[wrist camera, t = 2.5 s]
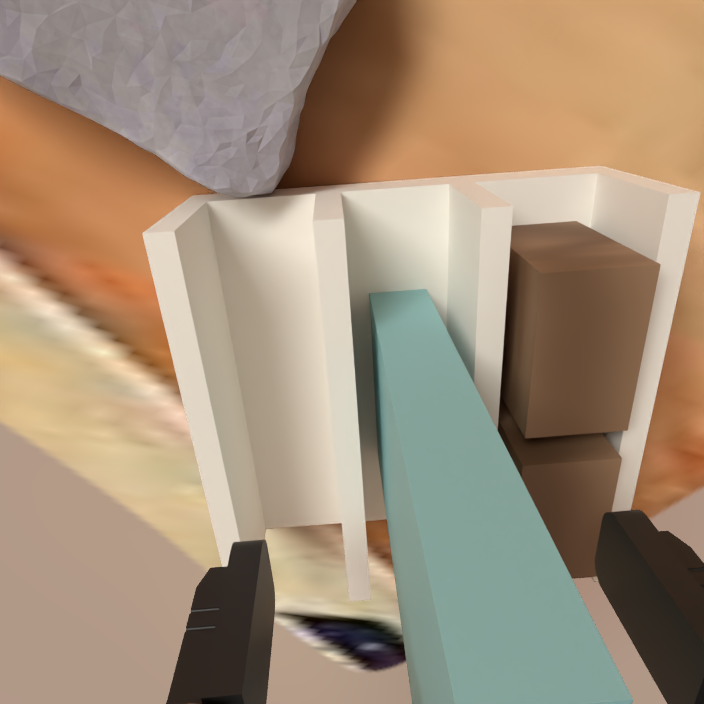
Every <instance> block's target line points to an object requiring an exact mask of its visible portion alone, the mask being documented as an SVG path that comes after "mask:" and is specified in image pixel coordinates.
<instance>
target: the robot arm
mask: <svg viewBox="0 0 704 704" xmlns="http://www.w3.org/2000/svg"><path fill="white" fill-rule="evenodd" d="M595 570H596V575H597V578H598V581H599V584H600V586H601V588H602V590H603V591H604V593H605V595H606V596H607V598H608V600H609V602H610V603H611V605H612V607H613V609H614V610H615V612H616V614H617V616H618V617H619V619H620V621H621V623H622V624H623V626H624V628H625V630H626V631H627V633H628V635H629V637H630V639H631V640H632V642H633V644H634V646H635V647H636V649H637V651H638V653H639V655H640V656H641V658H642V660H643V661H644V663H645V665H646V667H647V668H648V670H649V672H650V674H651V676H652V677H653V679H654V681H655V682H656V684H657V686H658V688H659V690H660V691H661V693H662V695H663V697H664V698H665V700H666V702H667V704H704V563H703V562H702V561H701V559H700V558H699V557H698V556H697V555H696V553H695V552H694V551H693V550H692V548H691V547H690V546H688V545H687V544H685V543H684V542H683V541H681V540H680V539H678V538H677V537H676V536H674V535H673V534H671V533H670V532H669V531H660V532H659V531H658V530H657V529H656V528H655V526H654V525H653V524H652V522H651V521H650V520H649V519H648V517H647V516H646V515H645V514H644V513H643V512H642V511H640V510H629V511H617V512H606V513H605V514H604V515H603V518H602V523H601V528H600V533H599V539H598V544H597V549H596V555H595ZM274 614H275V591H274V582H273V577H272V571H271V565H270V560H269V554H268V548H267V543H266V540H253V541H241V542H233V544H232V547H231V551H230V556H229V561H228V566H227V567H215V568H210V569H209V571H208V572H207V573H206V575H205V576H204V578H203V579H202V580H201V582H200V583H199V585H198V586H197V588H196V591H195V595H194V599H193V603H192V607H191V614H190V615H189V618H188V622H187V626H186V632H185V634H184V638H183V642H182V645H181V650H180V653H179V657H178V661H177V665H176V669H175V673H174V677H173V681H172V684H171V688H170V692H169V696H168V700H167V703H166V704H266V700H267V689H268V678H269V668H270V657H271V646H272V636H273V625H274Z"/></svg>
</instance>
